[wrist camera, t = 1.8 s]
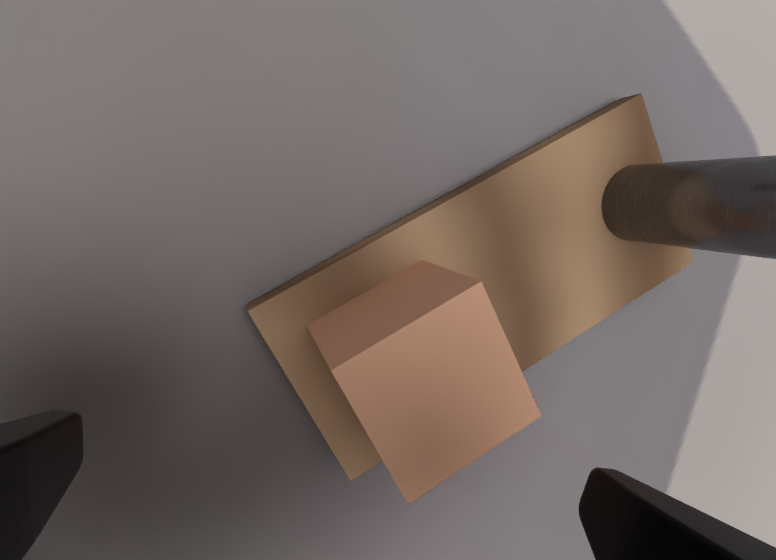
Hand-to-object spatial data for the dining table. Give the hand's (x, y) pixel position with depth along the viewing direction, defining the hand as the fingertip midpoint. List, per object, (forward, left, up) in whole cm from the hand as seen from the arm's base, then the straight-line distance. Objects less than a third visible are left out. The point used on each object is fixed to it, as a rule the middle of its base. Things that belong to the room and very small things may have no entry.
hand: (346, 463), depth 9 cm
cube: (+1, -4, -10) cm, 11 cm away
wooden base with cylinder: (+5, -7, -11) cm, 14 cm away
